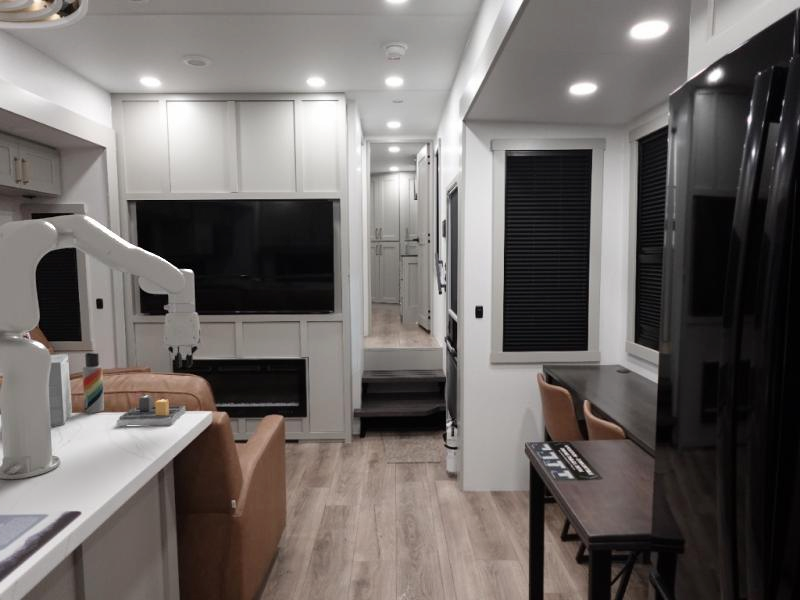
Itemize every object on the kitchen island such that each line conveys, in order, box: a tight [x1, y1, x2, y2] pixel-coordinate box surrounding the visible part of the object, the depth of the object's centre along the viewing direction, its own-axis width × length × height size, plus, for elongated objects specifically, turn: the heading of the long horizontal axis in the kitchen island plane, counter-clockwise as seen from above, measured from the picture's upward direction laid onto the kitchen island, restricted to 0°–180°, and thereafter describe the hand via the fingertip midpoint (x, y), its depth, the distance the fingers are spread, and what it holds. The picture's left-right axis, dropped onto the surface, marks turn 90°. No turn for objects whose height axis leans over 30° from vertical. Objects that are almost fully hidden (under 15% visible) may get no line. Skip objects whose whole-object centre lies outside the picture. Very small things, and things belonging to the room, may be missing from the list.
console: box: [116, 405, 187, 427], centre depth 165 cm, size 14×16×3 cm
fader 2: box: [154, 398, 170, 415], centre depth 162 cm, size 3×3×5 cm
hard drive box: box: [49, 353, 73, 427], centre depth 164 cm, size 16×8×20 cm, turn 25°
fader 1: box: [138, 394, 154, 411], centre depth 167 cm, size 3×3×5 cm
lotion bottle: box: [82, 352, 105, 414], centre depth 174 cm, size 6×6×20 cm
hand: (184, 366), depth 162 cm, fingers closed
